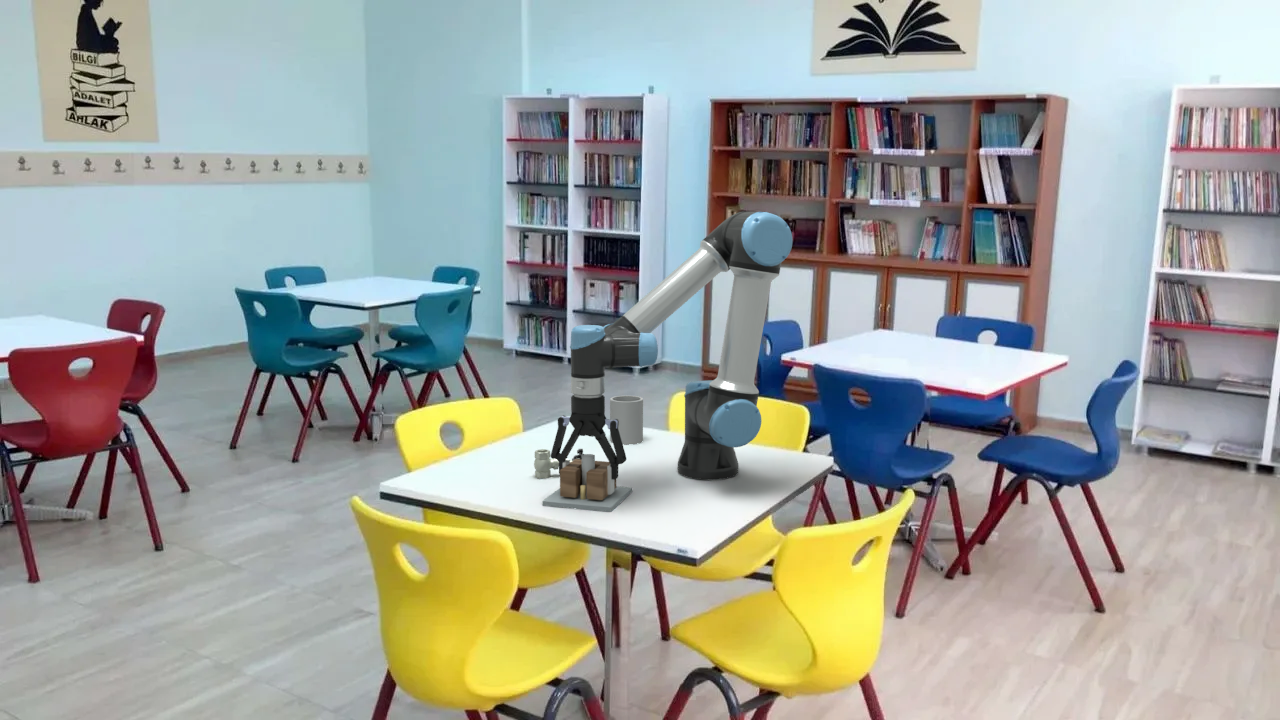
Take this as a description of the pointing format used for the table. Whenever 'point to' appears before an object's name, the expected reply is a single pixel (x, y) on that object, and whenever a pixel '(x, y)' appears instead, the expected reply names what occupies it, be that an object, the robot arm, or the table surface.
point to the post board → (589, 502)
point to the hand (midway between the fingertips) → (588, 490)
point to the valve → (549, 462)
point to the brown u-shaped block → (595, 480)
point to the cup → (628, 418)
